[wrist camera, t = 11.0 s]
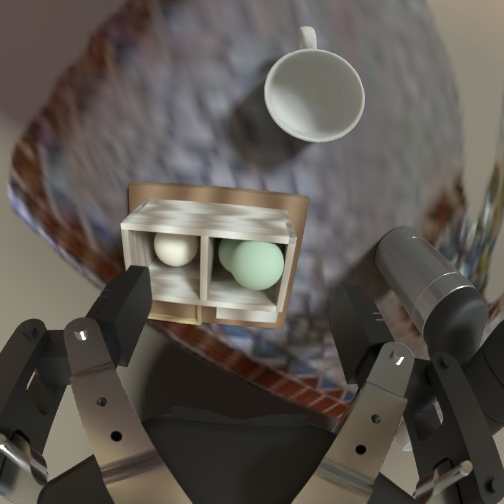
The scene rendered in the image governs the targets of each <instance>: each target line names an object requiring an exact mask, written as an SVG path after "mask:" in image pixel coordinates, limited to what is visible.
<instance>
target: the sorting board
mask: <svg viewBox="0 0 504 504" xmlns="http://www.w3.org/2000/svg"><path fill="white" fill-rule="evenodd" d="M309 200H310V199H309V197H308V196H304V195H296V194H288V193H279V192H270V191H261V190H251V189H241V188H229V187H217V186H204V185H189V184H171V183H149V182H132V183H130V184H129V207H130V214H129V215H128V216H127V217H126V218H125V219H124V220H123V221H122V222H121V231H122V241H123V251H124V259H125V267H126V271H127V269H128V268H129V266H130V265H138V266H147V267H148V268H149V271H150V281H151V290H152V307H151V311H150V313H149V316H148V318H150V319H157V320H164V321H171V322H179V323H187V324H196V325H201V323H202V322H206V323H216V324H226V325H237V326H250V327H264V328H281V329H283V326H284V322H285V318H286V313H287V309H288V304H289V300H290V295H291V291H292V286H293V282H294V277H295V272H296V268H297V263H298V258H299V253H300V248H301V243H302V238H303V232H304V227H305V222H306V217H307V211H308V206H309ZM157 232H161V233H173V234H185V235H196V236H197V237H198V250H197V253H196V255H195V257H194V258H193V259H192V260H191V261H190V262H189V263H187V264H185V265H182V266H170V265H167V264H165V263H164V262H162V261H161V260H160V259H159V257H158V256H157V254H156V252H155V248H154V239H155V236H156V234H157ZM223 238H230V239H241V240H252V241H262V242H273V243H275V244H276V245H277V246H278V247H279V249H280V250H281V252H282V255H283V258H284V269H283V272H282V275H281V277H280V278H279V280H278V281H277V282H276V283H275V284H274V285H272V286H271V287H269V288H267V289H264V290H250V289H247V288H245V287H243V286H242V285H240V284H239V283H238V282H237V281H236V279H235V278H234V276H233V274H232V273H231V272H229V271H228V270H226V269H225V268H224V267H223V265H222V264H221V262H220V259H219V255H218V249H219V244H220V242H221V240H222V239H223Z"/></svg>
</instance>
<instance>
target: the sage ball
mask: <svg viewBox="0 0 504 504" xmlns="http://www.w3.org/2000/svg"><path fill="white" fill-rule="evenodd" d="M230 267H231V271H232V274H233V276H234V278H235V279H236V281H237V282H238V283H239V284H240V285H242V286H243V287H245V288H247V289H250V290H264V289H267V288H269V287H271V286H272V285H274V284H275V283H276V282H277V281H278V280H279V278H280V277H281V275H282V272H283V269H284V258H283V255H282V252H281V250H280V249H279V247H278V246H277V245H276V244H275V243H273V242H262V241H252V240H243V241H242V242H241V243H239V244H238V245H237V246H236V248H235V249H234V251H233V253H232V256H231V261H230Z"/></svg>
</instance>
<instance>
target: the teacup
mask: <svg viewBox="0 0 504 504" xmlns="http://www.w3.org/2000/svg"><path fill="white" fill-rule="evenodd" d="M297 44H298V50H297V51H294V52H291V53H289V54H287V55H285V56H283V57H282V58H280V59H279V60H278V61H277V62H276V63H275V64H274V65H273V66H272V68H271V69H270V71H269V73H268V75H267V77H266V81H265V86H264V99H265V104H266V107H267V109H268V112H269V113H270V115H271V117H272V118H273V120H274V121H275V122H276V124H277V125H278V126H279V127H280V128H281V129H283V130H284V131H285V132H286V133H288V134H290V135H292V136H294V137H296V138H298V139H301V140H304V141H309V142H319V143H320V142H328V141H333V140H336V139H338V138H341V137H342V136H344V135H345V134H347V133H348V132H349V131H350V130H352V128H353V127H354V126H355V125H356V124H357V122H358V121H359V119H360V117H361V115H362V112H363V109H364V101H365V94H364V89H363V86H362V82H361V80H360V78H359V76H358V74H357V72H356V71H355V70H354V69H353V68H352V66H351V65H350V64H349V63H348V62H347V61H345V60H344V59H342V58H341V57H340V56H338V55H336V54H333V53H331V52H328V51H324V50H319V49H317V45H316V34H315V31H314V29H313V28H311V27H300V28H299V29H298V34H297Z"/></svg>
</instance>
